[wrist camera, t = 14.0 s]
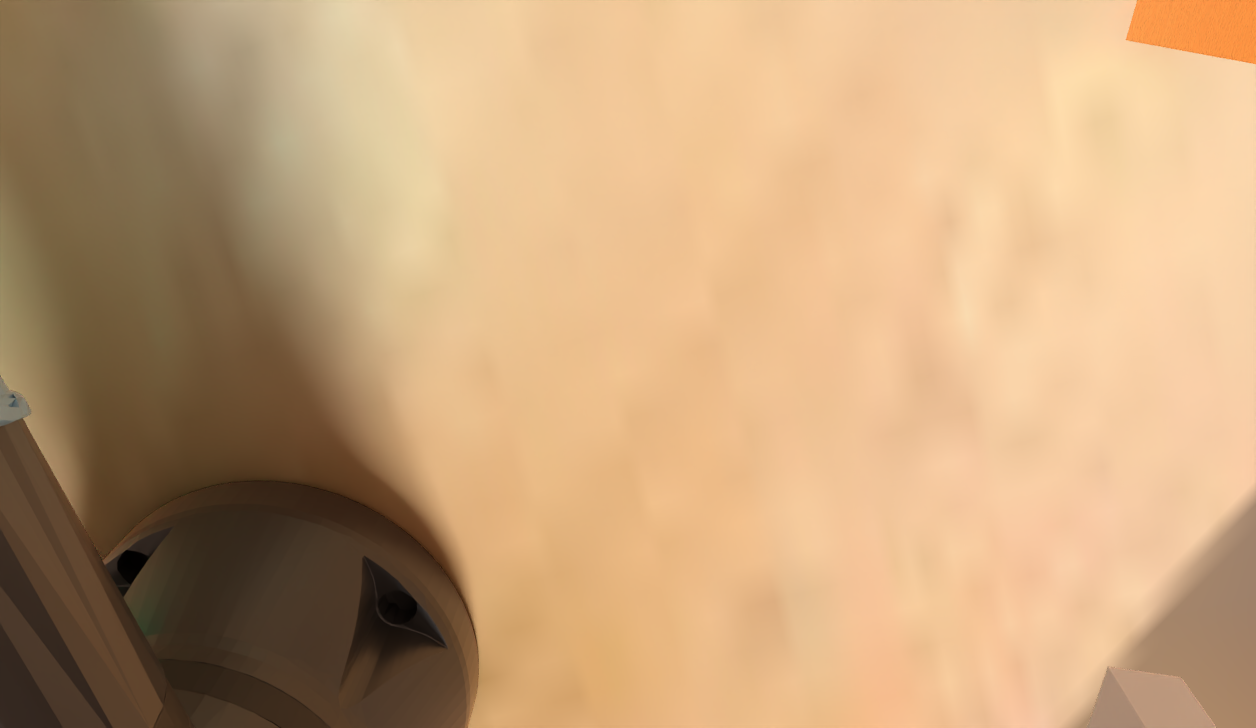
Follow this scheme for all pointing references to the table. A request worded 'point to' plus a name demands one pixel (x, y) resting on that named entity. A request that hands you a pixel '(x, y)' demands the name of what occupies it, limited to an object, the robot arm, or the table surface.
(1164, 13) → the square frame with handle
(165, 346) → the table surface
